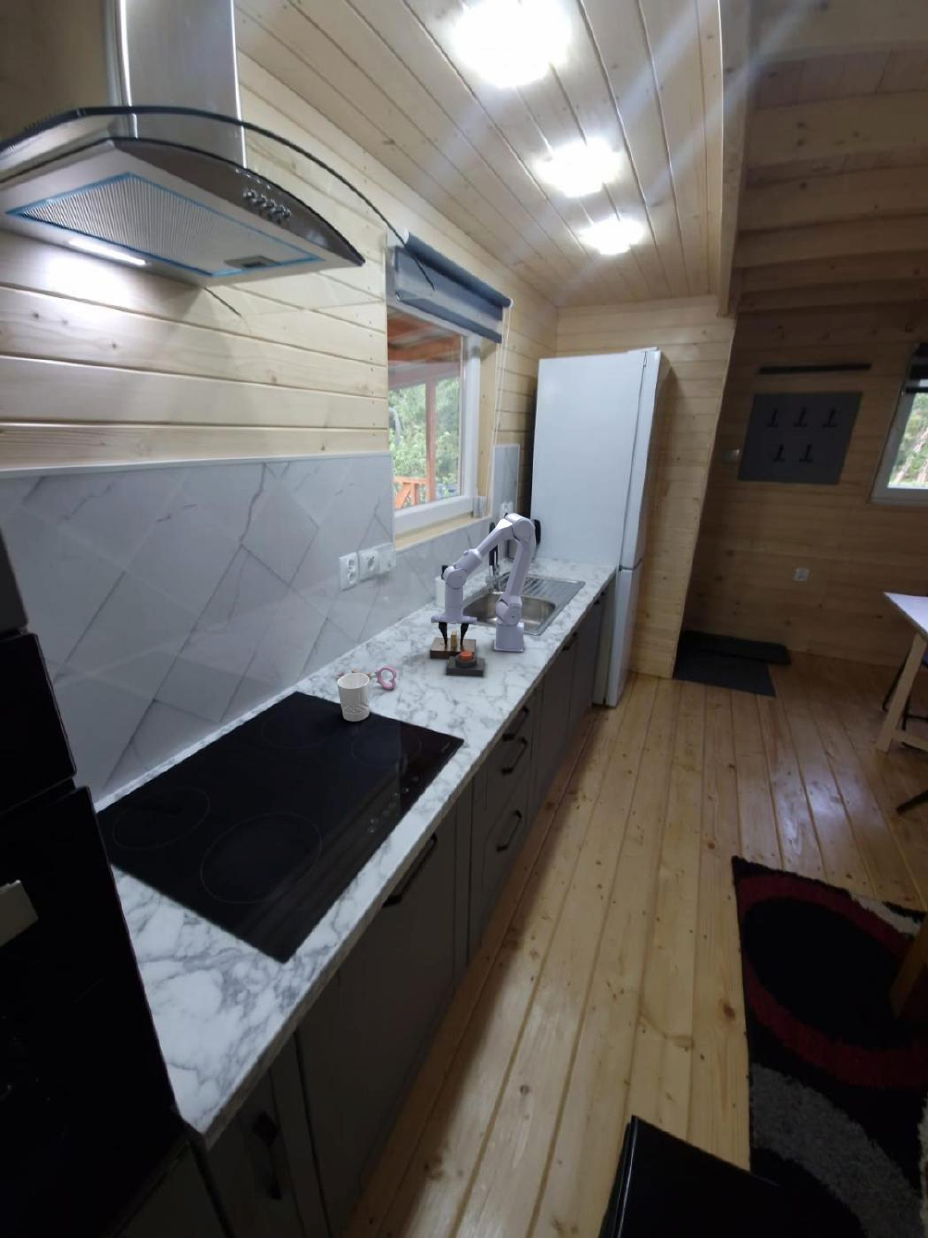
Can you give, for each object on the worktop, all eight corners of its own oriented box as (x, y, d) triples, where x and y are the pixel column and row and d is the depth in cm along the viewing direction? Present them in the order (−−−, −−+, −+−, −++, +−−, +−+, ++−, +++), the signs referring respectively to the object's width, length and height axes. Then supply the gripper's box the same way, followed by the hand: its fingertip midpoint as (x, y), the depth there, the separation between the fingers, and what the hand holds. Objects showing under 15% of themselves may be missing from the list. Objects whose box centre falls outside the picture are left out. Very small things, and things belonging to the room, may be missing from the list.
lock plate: (476, 647, 166) (476, 638, 165) (473, 660, 157) (474, 651, 156) (434, 645, 167) (434, 636, 166) (430, 658, 158) (430, 649, 157)
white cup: (377, 714, 128) (375, 680, 124) (352, 727, 123) (349, 691, 119) (359, 702, 133) (357, 669, 129) (334, 714, 127) (331, 680, 124)
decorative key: (340, 685, 147) (399, 687, 140) (337, 687, 146) (397, 689, 139) (334, 664, 145) (394, 666, 138) (332, 666, 144) (392, 667, 137)
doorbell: (484, 664, 155) (484, 652, 153) (483, 676, 147) (483, 664, 146) (449, 662, 156) (449, 651, 154) (446, 674, 148) (446, 662, 147)
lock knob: (452, 641, 163) (452, 629, 161) (456, 641, 163) (457, 629, 161) (450, 647, 159) (450, 635, 157) (455, 647, 159) (455, 635, 157)
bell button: (472, 656, 152) (472, 651, 151) (471, 661, 148) (471, 656, 148) (460, 655, 152) (460, 650, 151) (459, 661, 149) (459, 655, 148)
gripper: (429, 608, 153) (429, 647, 158) (476, 610, 151) (475, 650, 156) (432, 600, 159) (433, 638, 164) (477, 602, 158) (476, 640, 163)
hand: (453, 643), depth 161 cm, fingers open, 4 cm apart
